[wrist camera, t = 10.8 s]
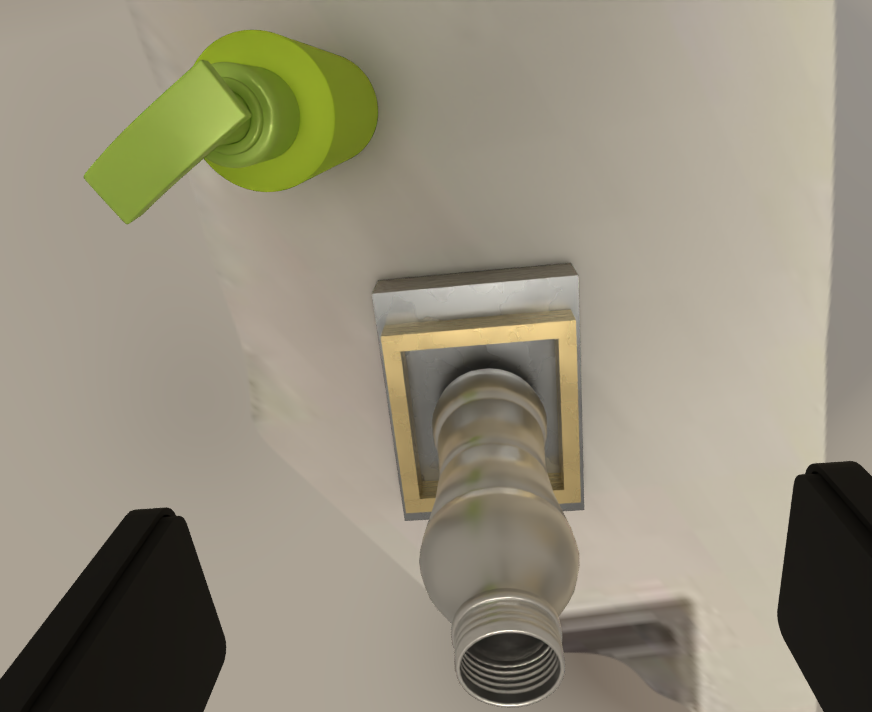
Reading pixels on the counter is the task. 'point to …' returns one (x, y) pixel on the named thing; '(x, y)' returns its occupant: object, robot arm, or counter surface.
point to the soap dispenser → (242, 122)
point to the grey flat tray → (481, 363)
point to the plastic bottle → (498, 540)
